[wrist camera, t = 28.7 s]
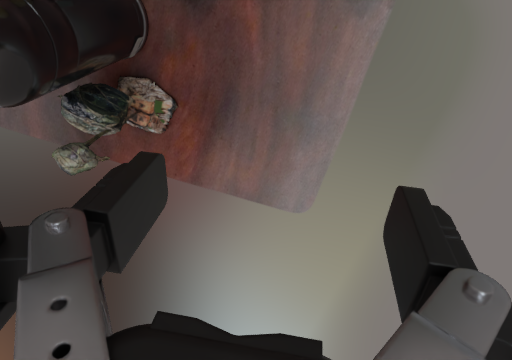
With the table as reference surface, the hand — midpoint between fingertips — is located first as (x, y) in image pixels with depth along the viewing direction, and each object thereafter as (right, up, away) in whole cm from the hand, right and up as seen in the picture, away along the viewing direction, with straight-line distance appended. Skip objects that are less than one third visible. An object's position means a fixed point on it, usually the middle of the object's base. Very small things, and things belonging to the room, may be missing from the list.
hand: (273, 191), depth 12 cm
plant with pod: (-17, +12, +36) cm, 41 cm away
